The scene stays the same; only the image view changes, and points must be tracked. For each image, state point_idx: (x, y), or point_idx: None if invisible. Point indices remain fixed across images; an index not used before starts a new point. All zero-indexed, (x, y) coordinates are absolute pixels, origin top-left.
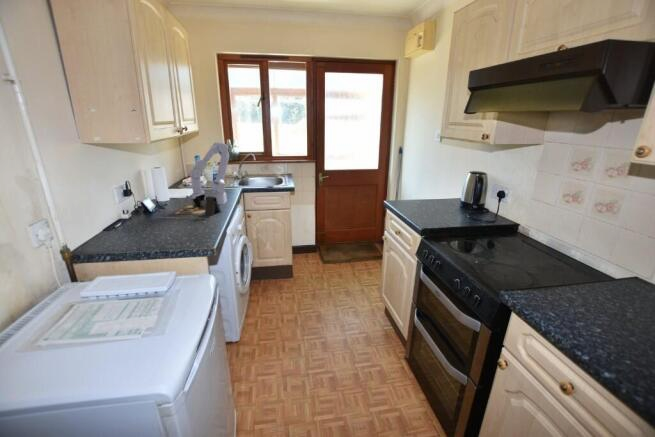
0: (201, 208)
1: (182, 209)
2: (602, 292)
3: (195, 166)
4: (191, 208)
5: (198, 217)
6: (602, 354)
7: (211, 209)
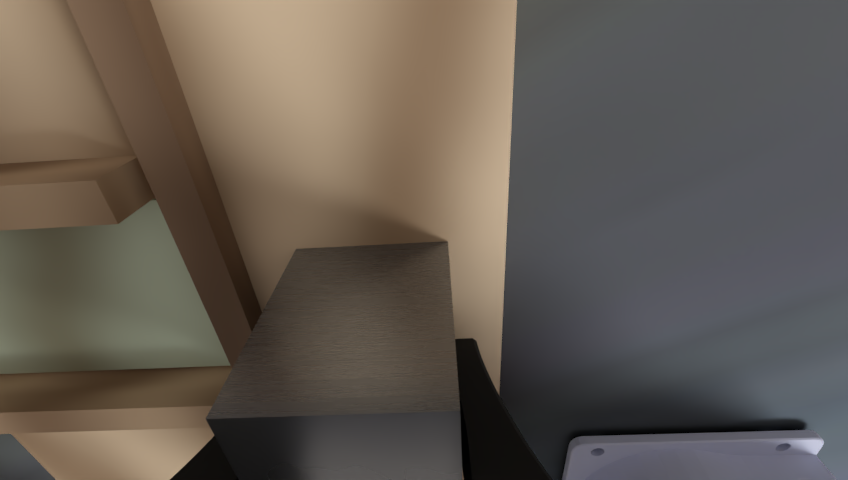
0: None
1: (34, 9)
2: None
3: None
4: (194, 261)
5: (5, 471)
6: None
7: None
